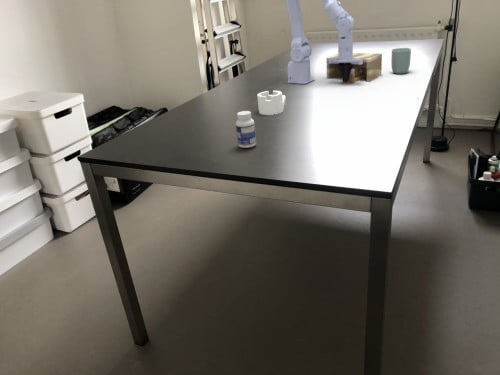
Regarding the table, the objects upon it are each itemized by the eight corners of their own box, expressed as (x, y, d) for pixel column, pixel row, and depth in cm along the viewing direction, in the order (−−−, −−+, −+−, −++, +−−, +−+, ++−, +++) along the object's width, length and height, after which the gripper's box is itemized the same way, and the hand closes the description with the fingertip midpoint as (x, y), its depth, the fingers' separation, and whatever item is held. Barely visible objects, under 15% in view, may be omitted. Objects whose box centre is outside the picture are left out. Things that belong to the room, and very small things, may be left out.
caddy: (342, 82, 188) (342, 68, 185) (356, 76, 196) (356, 63, 193) (353, 83, 185) (353, 69, 182) (366, 76, 192) (367, 63, 190)
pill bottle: (237, 142, 133) (234, 111, 129) (255, 140, 133) (252, 109, 129) (238, 149, 128) (235, 116, 124) (257, 146, 128) (254, 114, 124)
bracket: (282, 114, 155) (280, 96, 152) (257, 116, 156) (255, 97, 154) (286, 99, 173) (285, 82, 170) (264, 101, 174) (262, 84, 171)
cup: (410, 74, 188) (412, 50, 184) (391, 75, 190) (392, 51, 186) (408, 70, 195) (409, 47, 191) (390, 71, 197) (391, 48, 193)
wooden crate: (326, 79, 196) (326, 58, 192) (340, 73, 204) (339, 52, 200) (369, 81, 184) (369, 59, 180) (381, 75, 192) (381, 53, 188)
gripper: (324, 49, 180) (325, 82, 186) (357, 49, 172) (357, 84, 178) (333, 46, 185) (333, 78, 191) (365, 46, 177) (365, 80, 182)
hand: (345, 81), depth 185 cm, fingers closed, pressing on caddy
